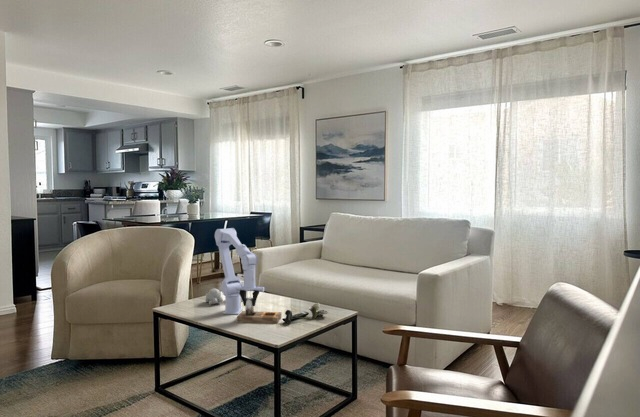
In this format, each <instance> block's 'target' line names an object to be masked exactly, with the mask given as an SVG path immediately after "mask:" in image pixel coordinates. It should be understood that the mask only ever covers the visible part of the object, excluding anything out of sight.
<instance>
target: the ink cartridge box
mask: <svg viewBox="0 0 640 417" xmlns="http://www.w3.org/2000/svg"><path fill="white" fill-rule="evenodd" d="M236 277H238V278H240V281H241V283H242V285H243V286H244V273H237V274H236ZM232 283H234V282H232ZM240 297H241V296H240ZM246 298H249V291H247V292H246ZM241 303H243V300H242V298H241Z"/></svg>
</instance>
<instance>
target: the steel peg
mask: <svg viewBox="0 0 640 417" xmlns="http://www.w3.org/2000/svg"><path fill="white" fill-rule="evenodd" d="M244 307H245V310H244V311H245V313H247V314H251V313H254V312H255V309H254V307H255V306H253V297H248V298H245V306H244Z"/></svg>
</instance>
